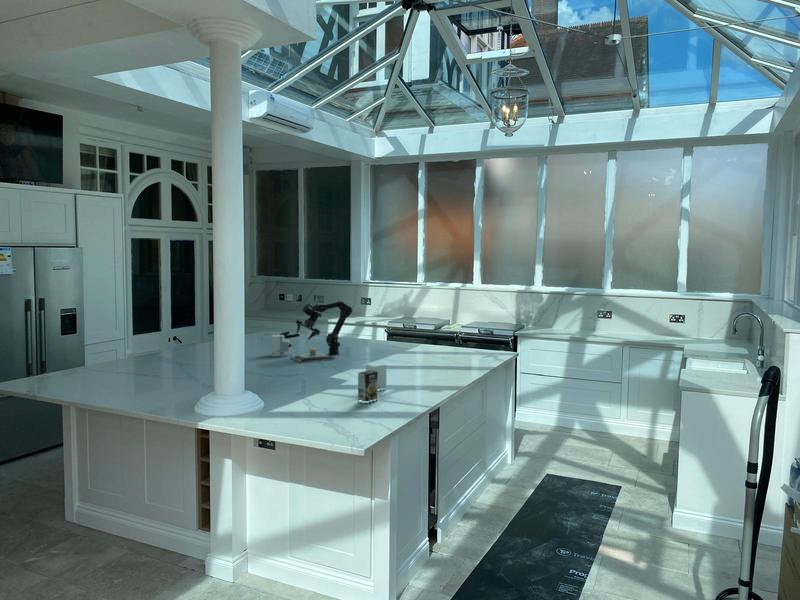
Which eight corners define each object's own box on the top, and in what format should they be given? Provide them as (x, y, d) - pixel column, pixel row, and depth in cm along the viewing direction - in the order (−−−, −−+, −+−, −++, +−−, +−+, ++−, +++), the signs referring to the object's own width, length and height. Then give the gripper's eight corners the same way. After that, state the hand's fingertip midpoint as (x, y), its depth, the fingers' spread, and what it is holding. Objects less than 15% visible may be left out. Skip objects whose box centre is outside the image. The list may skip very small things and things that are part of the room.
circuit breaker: (290, 356, 467) (290, 336, 466) (271, 356, 468) (270, 336, 466) (292, 354, 475) (292, 335, 473) (273, 354, 475) (273, 334, 474)
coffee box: (366, 404, 334) (366, 374, 333) (357, 402, 338) (357, 372, 337) (378, 400, 341) (378, 371, 339) (369, 398, 345) (369, 369, 344)
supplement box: (386, 390, 364) (386, 364, 363) (373, 392, 360) (373, 366, 358) (378, 387, 372) (378, 362, 370) (365, 389, 367) (365, 363, 366)
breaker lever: (314, 356, 460) (314, 347, 459) (315, 357, 457) (315, 348, 457) (309, 357, 458) (309, 348, 458) (311, 357, 456) (311, 348, 455)
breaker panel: (324, 355, 473) (324, 351, 473) (334, 359, 456) (334, 355, 455) (291, 358, 460) (290, 354, 460) (300, 363, 443) (300, 358, 443)
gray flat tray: (323, 354, 470) (323, 352, 469) (330, 357, 457) (330, 356, 457) (294, 357, 458) (294, 355, 458) (301, 360, 446) (301, 358, 446)
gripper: (300, 310, 455) (289, 328, 451) (323, 321, 453) (312, 340, 448) (302, 314, 466) (291, 332, 461) (324, 326, 464) (313, 344, 459)
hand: (302, 337), depth 457 cm, fingers open, 9 cm apart
